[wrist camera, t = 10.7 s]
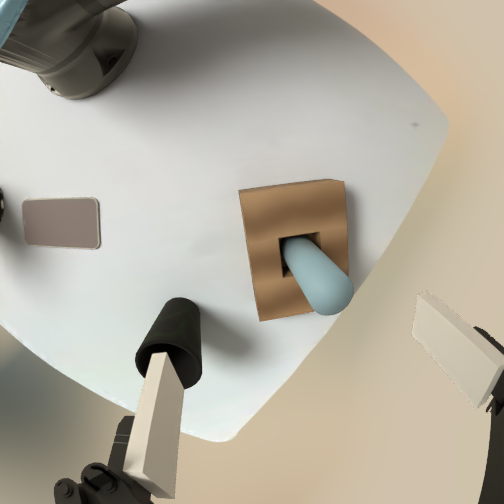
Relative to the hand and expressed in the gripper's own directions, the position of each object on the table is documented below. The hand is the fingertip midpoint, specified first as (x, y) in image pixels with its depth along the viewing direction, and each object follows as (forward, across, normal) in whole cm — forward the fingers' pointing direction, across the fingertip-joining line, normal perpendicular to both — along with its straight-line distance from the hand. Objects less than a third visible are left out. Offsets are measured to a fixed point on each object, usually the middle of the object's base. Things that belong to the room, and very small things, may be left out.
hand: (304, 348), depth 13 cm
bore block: (+24, +5, -3) cm, 25 cm away
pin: (+23, +5, -3) cm, 24 cm away
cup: (+25, -13, -11) cm, 30 cm away
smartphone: (+26, -28, +7) cm, 38 cm away
